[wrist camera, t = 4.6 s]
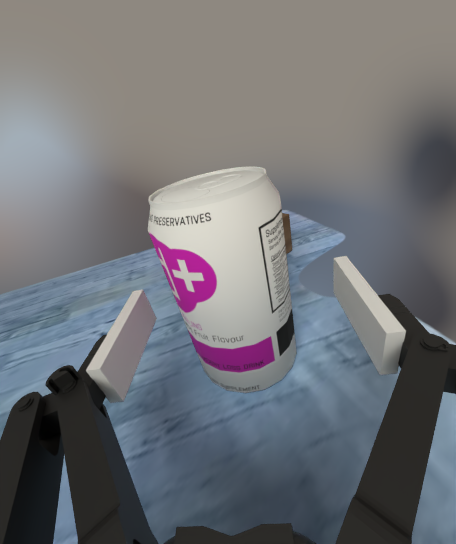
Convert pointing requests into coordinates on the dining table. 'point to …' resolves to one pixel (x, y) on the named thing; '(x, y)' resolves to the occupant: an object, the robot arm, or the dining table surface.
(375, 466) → the robot arm
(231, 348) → the supplement can
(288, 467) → the dining table surface
